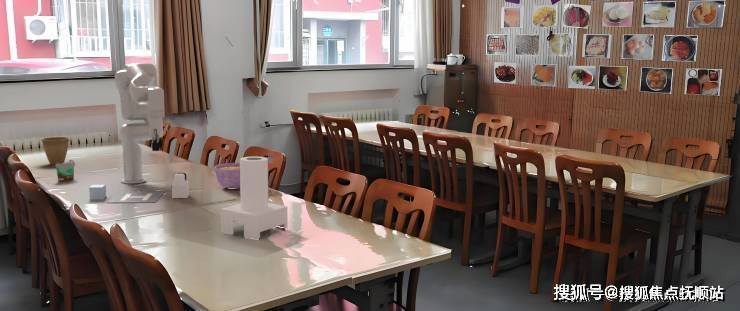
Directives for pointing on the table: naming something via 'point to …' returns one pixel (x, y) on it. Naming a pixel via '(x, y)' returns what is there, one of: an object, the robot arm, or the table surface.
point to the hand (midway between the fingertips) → (157, 149)
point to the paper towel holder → (253, 201)
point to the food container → (65, 171)
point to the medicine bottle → (180, 186)
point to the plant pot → (55, 149)
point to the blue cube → (97, 191)
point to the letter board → (136, 197)
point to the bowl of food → (228, 175)
